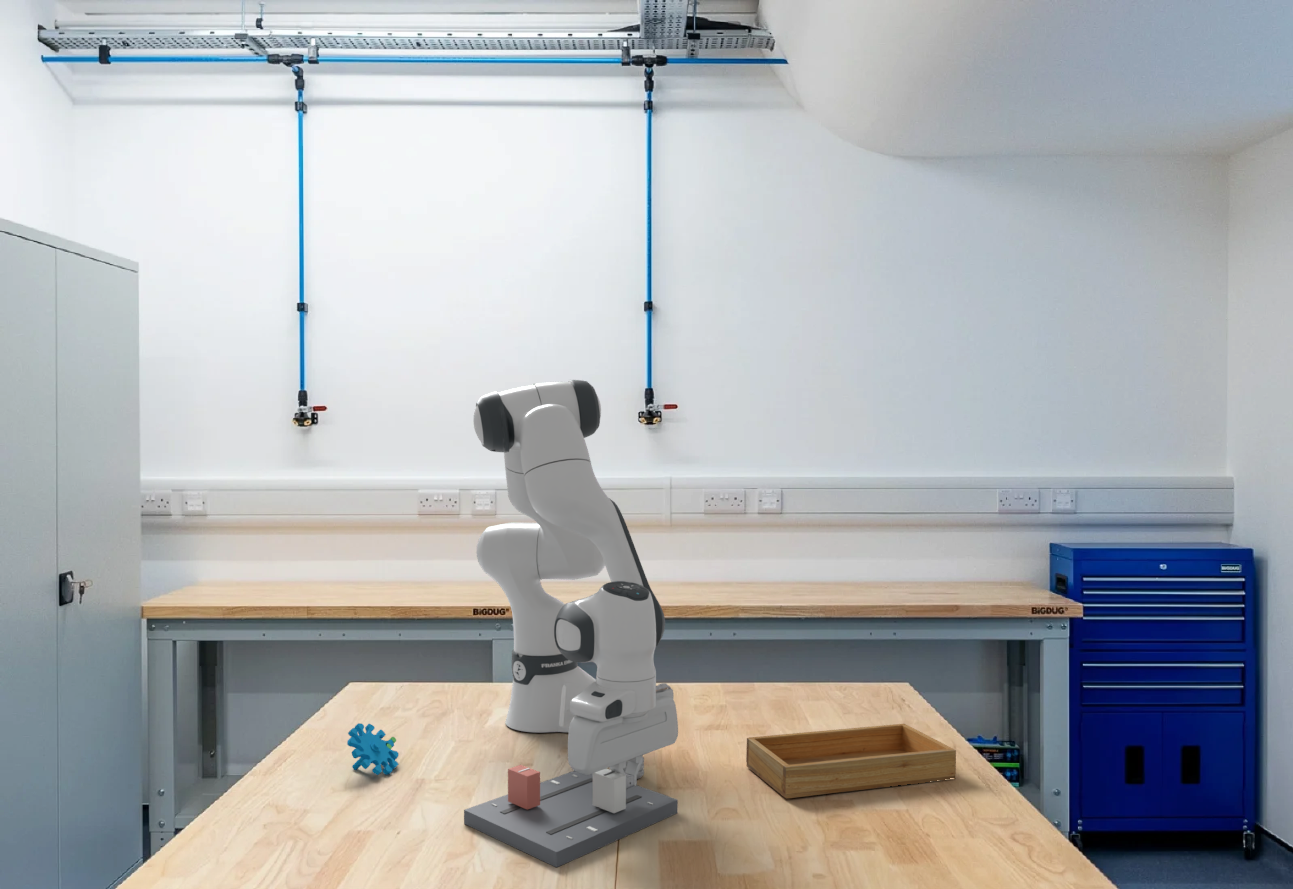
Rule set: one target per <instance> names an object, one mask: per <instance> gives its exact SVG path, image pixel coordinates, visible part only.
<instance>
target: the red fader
mask: <svg viewBox="0 0 1293 889" xmlns="http://www.w3.org/2000/svg"><path fill="white" fill-rule="evenodd" d="M540 783H541V772H540V771H538V770H535V769H534V768H533V769H532V768H531V767H529V766H525V765H523V764H519V765H516V766H513V767H510V768H508V769H507V794H508V802H510V803H513V804H515V805H517V806H520V807H522V808H524V809H527V810H528V809H531V808H533V807H536V806H539V805H540Z"/></svg>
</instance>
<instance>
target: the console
mask: <svg viewBox="0 0 1293 889" xmlns="http://www.w3.org/2000/svg"><path fill="white" fill-rule="evenodd" d="M678 802H679V800H678V799H677V798H674V797H671V796H669V795H666V794H663V793H660V792H657V791H654V790H651V789H649V788H646V787H643V786H640V785H638V784H636V786H634V787H631V788H628V789H626V809H623V810H621V811H619V812H616V813H612V812H609V811H607V810H604V809H602V808H599V807H596V806H594V805H593V773H592V774H590V775H585V774H582V773H579V772H576V771H574V770H572V771H569V772H567V773H564V774H560V775H558V776H555V777H552V778H550V779H546V780H544V781H540V805H539V806H536V807H533V808H531V809H528V810H527V809H524V808H522V807H520V806H517V805H515V804H513V803H510V802H508V793H507V794H505V795H502V796H499V797H497V798H493V799H491V800H488V801H485V802H482V803H479V804H477V805H473V806H471V807H468V808H466V809H463V824H464V825H467V827H470V828H473V829H474V830H477V831H479V832H481V833H483V834H485V835H487V836H489V837H492V838H494V839H496V840H498V841H500V842H502V843H504V844H506V845H508V846H510V847H513V848H515V849H517V850H518V851H520V852H523V853H526V854H528V855H529V856H532V857H533V858H536V859H537V860H540V861H541V862H544V863H546V864H549V865H550V866H552V867H555V868H558V867H561V866H563V865H565V864H567V863H569V862H572V861H575V860H576V859H579V858H580V857H583V856H585V855H587V854H589V853H592V852H594V851H596V850H598V849H601V848H602V847H605V846H607V845H609V844H612V843H614V842H616V841H618V840H621V839H624V838H625V837H628V836H629V835H632V834H634V833H636V832H639V831H640V830H641V831H642V830H643V829H645V828H647V827H650V826H652V825H654V824H657V823H659V822H661V821H663V820H665V819H667V818H670V817H672V816H674V815H676V814H678V812H679V811H678V810H679V807H678V806H679V803H678Z"/></svg>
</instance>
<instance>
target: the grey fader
mask: <svg viewBox="0 0 1293 889" xmlns="http://www.w3.org/2000/svg"><path fill="white" fill-rule="evenodd" d="M593 805H594V806H596V807H599V808H602V809H604V810H607V811H609V812H612V813H616V812H619V811H621V810H623V809H626V775H623V774H620V773H618V772H615V771H612V770H610V768H609V769H608V768H606V769H603V770H600V771H598V772H595V773H593Z"/></svg>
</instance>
